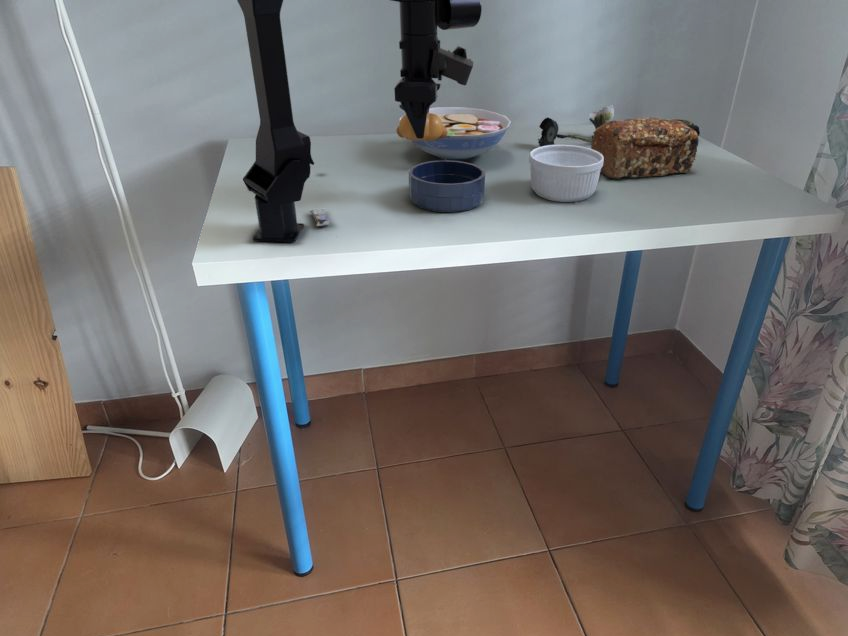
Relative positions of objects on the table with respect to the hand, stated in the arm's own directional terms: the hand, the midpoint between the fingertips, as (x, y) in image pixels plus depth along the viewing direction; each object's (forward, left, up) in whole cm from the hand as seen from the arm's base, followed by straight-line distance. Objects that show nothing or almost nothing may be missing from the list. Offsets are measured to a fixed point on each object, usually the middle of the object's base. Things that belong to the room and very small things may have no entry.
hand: (421, 134), depth 113 cm
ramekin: (+6, -25, -12) cm, 29 cm away
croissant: (0, 0, -1) cm, 1 cm away
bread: (+21, -42, -12) cm, 49 cm away
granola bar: (-12, +16, -12) cm, 23 cm away
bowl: (0, -4, -11) cm, 12 cm away
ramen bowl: (+26, -4, -12) cm, 29 cm away
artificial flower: (+40, -32, -12) cm, 53 cm away
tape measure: (+45, -56, -12) cm, 73 cm away
